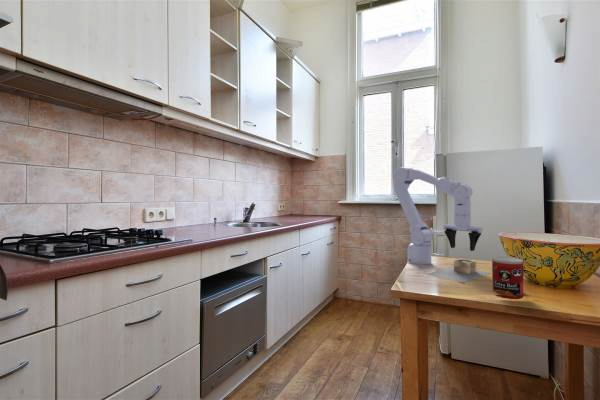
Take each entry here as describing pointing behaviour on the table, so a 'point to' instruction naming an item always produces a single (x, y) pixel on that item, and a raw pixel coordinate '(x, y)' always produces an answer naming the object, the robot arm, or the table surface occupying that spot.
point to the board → (457, 274)
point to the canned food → (507, 277)
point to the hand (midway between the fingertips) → (462, 249)
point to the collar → (465, 266)
